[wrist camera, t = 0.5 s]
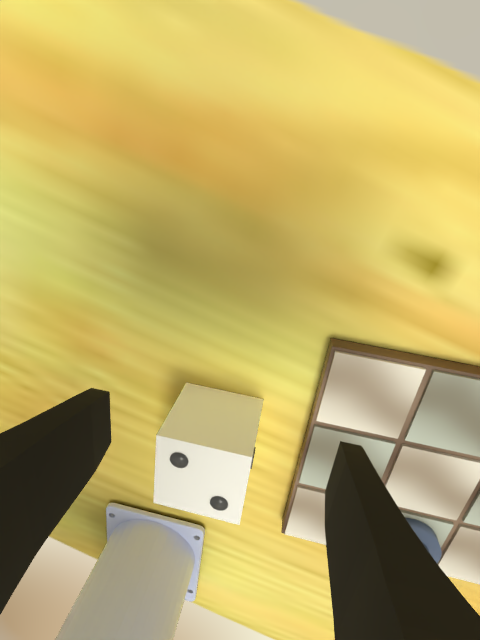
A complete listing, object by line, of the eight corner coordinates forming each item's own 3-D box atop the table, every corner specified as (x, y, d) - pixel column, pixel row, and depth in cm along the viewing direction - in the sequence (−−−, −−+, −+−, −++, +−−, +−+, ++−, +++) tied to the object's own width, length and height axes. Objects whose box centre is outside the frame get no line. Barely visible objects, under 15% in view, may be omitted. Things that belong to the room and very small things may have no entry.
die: (253, 458, 24) (240, 526, 19) (181, 441, 25) (152, 503, 20) (264, 398, 22) (253, 458, 17) (186, 381, 23) (156, 435, 18)
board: (500, 574, 24) (509, 594, 23) (282, 519, 26) (281, 535, 25) (627, 395, 18) (648, 409, 17) (331, 337, 19) (332, 347, 18)
